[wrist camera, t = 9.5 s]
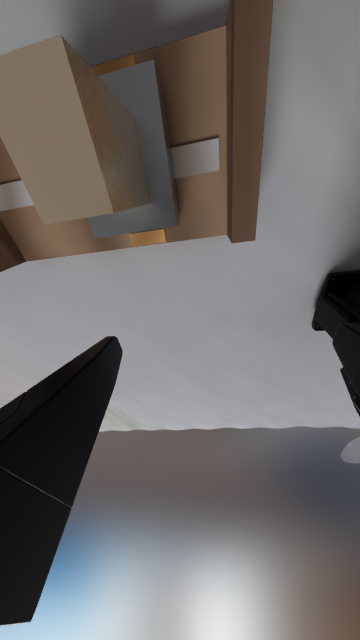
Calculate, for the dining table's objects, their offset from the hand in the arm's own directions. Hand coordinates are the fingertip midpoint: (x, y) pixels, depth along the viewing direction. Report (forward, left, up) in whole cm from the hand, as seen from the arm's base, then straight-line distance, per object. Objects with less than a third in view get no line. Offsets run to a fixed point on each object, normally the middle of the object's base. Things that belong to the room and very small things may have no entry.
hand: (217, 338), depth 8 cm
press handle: (+5, -7, -10) cm, 13 cm away
